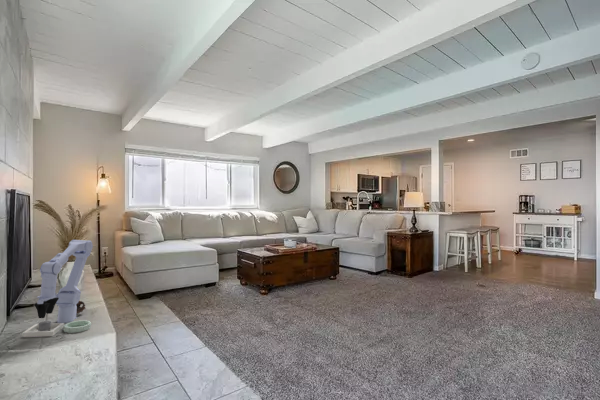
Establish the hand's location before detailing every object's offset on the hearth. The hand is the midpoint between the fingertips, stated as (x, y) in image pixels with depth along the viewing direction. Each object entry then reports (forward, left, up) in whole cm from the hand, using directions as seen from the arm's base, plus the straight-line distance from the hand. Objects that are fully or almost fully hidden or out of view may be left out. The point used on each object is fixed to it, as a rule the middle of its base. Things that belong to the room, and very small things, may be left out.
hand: (45, 315), depth 153 cm
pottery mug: (-32, +1, -9) cm, 33 cm away
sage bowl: (-3, +13, -9) cm, 16 cm away
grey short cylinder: (0, 0, -8) cm, 8 cm away
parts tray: (0, 0, -9) cm, 9 cm away
